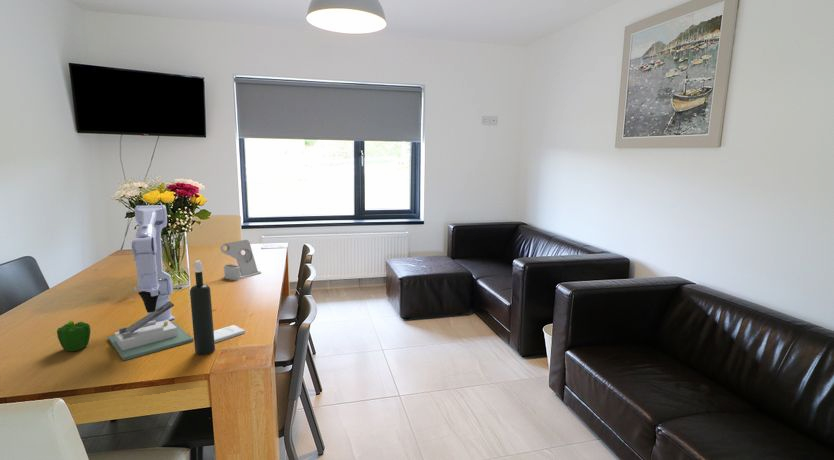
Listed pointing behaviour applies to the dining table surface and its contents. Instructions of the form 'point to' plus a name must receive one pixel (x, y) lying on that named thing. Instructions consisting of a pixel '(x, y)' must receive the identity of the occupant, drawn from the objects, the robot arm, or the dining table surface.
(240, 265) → the phone holder
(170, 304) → the strap
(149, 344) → the green base plate
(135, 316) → the dining table surface
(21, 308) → the dining table surface
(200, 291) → the wine bottle
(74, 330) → the bell pepper
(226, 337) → the external hard drive
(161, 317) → the robot arm
